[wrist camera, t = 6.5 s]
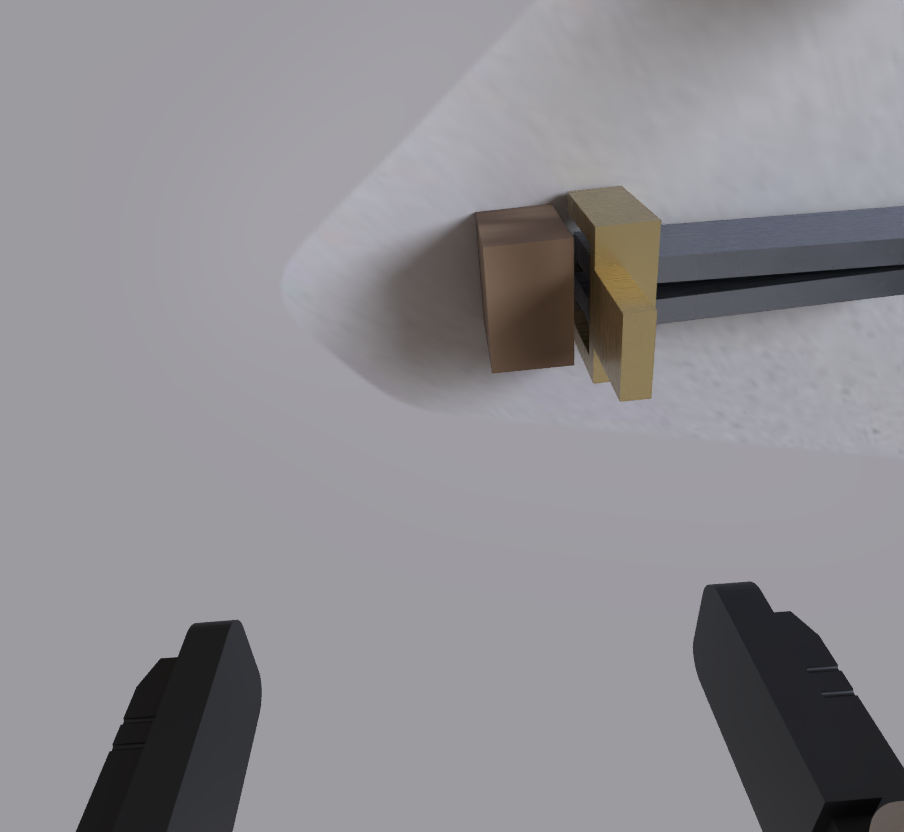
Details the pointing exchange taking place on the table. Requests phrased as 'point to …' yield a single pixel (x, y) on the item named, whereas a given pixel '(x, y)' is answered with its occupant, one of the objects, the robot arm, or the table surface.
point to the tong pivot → (527, 287)
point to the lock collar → (618, 289)
